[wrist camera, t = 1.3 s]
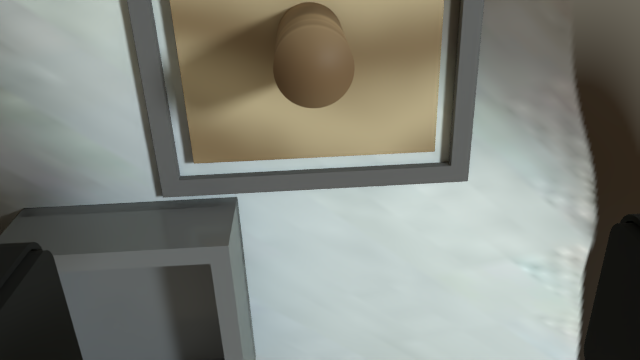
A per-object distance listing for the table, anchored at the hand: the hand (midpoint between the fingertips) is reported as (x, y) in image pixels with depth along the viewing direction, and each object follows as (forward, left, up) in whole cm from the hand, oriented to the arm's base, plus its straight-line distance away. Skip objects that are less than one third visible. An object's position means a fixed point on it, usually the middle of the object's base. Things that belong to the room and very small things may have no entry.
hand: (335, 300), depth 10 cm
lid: (0, 0, -21) cm, 21 cm away
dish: (+15, -10, -21) cm, 27 cm away
